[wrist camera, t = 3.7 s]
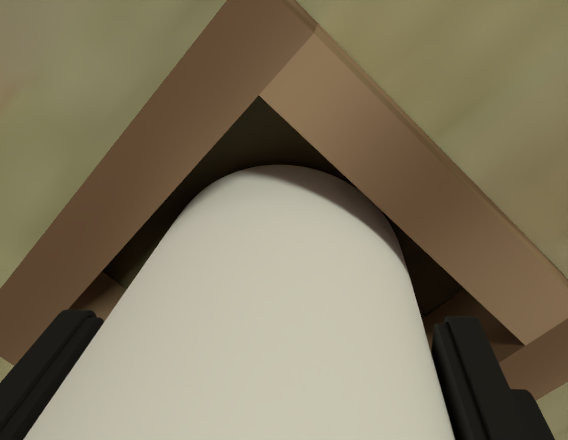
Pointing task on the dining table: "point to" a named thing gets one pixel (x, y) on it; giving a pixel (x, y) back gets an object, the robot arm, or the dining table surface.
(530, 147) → the dining table surface
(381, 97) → the brown square frame
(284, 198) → the can
